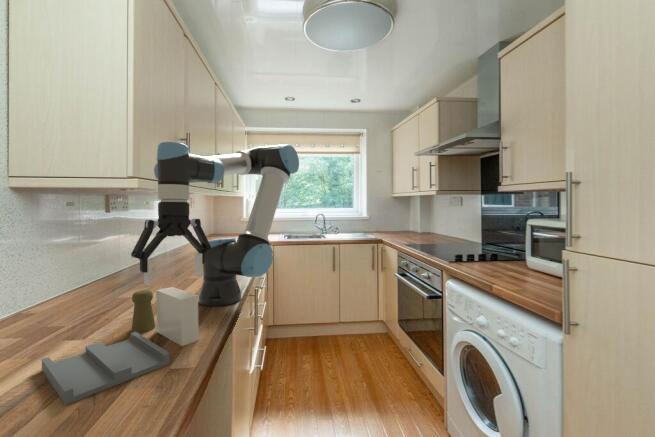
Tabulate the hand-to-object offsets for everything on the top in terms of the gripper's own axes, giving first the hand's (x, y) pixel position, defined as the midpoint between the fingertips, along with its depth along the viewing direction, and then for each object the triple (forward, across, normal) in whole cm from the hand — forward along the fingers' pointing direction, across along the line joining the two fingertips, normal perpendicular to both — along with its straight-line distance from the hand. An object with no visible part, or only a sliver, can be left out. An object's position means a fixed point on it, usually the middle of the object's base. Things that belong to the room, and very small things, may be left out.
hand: (174, 280), depth 84 cm
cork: (+16, +3, -13) cm, 21 cm away
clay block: (+16, 0, 0) cm, 16 cm away
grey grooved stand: (+16, +17, +4) cm, 23 cm away
